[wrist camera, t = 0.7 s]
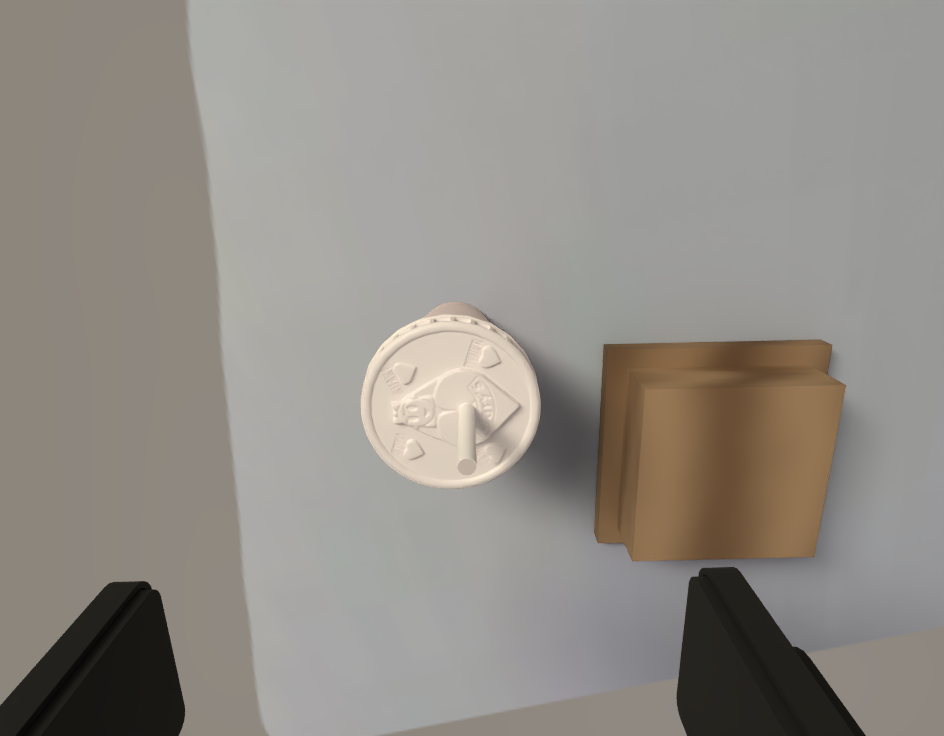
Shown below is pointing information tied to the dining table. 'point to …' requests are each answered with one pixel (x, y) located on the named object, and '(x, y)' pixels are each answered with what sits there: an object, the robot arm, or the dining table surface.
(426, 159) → the dining table surface
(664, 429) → the pedestal
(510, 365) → the smoothie
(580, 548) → the dining table surface
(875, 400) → the dining table surface
